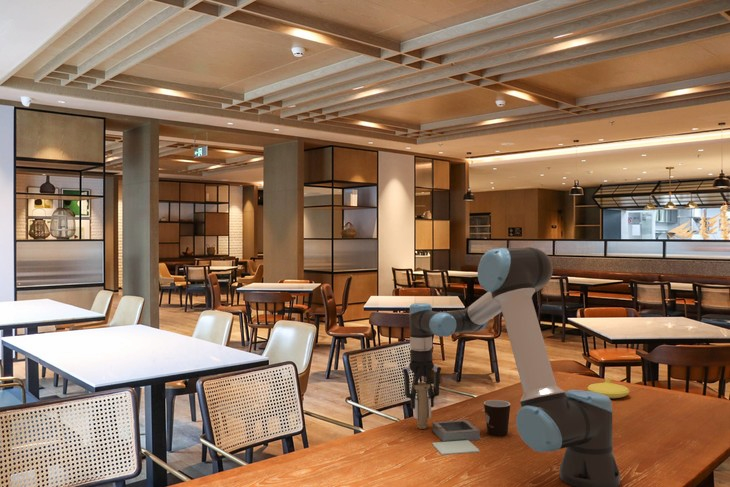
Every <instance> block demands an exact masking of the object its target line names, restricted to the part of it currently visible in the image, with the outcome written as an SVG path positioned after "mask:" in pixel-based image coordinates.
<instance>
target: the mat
mask: <svg viewBox="0 0 730 487" xmlns="http://www.w3.org/2000/svg"><path fill="white" fill-rule="evenodd" d="M431 445H432V446H433V447H434V449H436V451H437V452H438V453H440V455H441V456H444V455H445V456H446V455H460V454H470V453H480V452H481V450H480V449H479V448H478V447H477V446H475V444H473V443H472V442H471V441H469V440H462V441H450V442H443V441H440V442H439V441H438V442H432V443H431Z"/></svg>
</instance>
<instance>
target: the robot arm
mask: <svg viewBox="0 0 730 487" xmlns="http://www.w3.org/2000/svg"><path fill="white" fill-rule="evenodd" d="M553 270H554V268H553V262H552V260H551V259H550V257H549V255H547V253H546V252H545V251H543V250H541V249H540V248H537V247H531V246H530V247H499V248H493V249H489V250H488V251H486V252H485V253H484V254H483V255H482V257H481V258H480V260H479V263H478V266H477V279H478V283H479V285H480V288H482V289H483V290H484V291H486V293H485V294H483V295H482V296H480V297H479V298H478V299H476V300H475V301H474V302H472V303H471V304H470V305H469V306H467V307H466V308H465V309H457V310H456V309H455V310H447V311H433V309H432V304H430V303H429V302H418V303H411V305H409V315H408V316H409V348H410V350H409V351H410V352H409V355H410V358H409V360H410V362H409V365H408V366H407V367H402V369H401V372H402V373H403V379H404V380H403V382H404V396H405V398H407V399H410V408H411V409H412V410H413V418H414V419H416V420H417V419H418V401H417V390H415V389H414V386H413V385H418V383H419V380H420V378H421V377H424V380H425V381H424V382H426V383H427V384H430V388H429V389H428V390H427V404H428V419H431V418H432V408H434V406H435V404H434V401H435V400H434V399H435V398H436V397H439V396H440V373H441V371H442V367H440V366H439V365H435V364H434V362H433V350H432V348H433V336H437V337H440V338H441V337H444V338H445V337H450V336H452V335H454V334H463V333H476V332H479V331H483V330H485V329H486V328H487V325H488V323H489V321H490V320H492V319H494V317H496V316H497V315H499V314H500V313H502V317H503V320H504V324H505V328H506V332H507V336H508V339H509V343H510V347H511V351H512V353H513V357H514V361H515V365H516V369H517V372H518V376H519V379H520V383H521V384H520V385H521V388H522V391H523V394H522V396H521V398H520V399H519V403H520V406H521V408H519V410H518V411H517V413H516V416H517V417H515V418H516V419H515V424H516V428H517V432H518V434H519V436H520V439H521V440H522V441H523V442H524V444H525V445H527V446H529V448H530V449H531V450H533V451H535V452H539V453H547V452H557V451H559V450H561V449H565V450H564V454H563V457H562V461H561V463H560V466H559V478H560V480H561V481H562V482H564V483H565V484H567V485H569V486H572V487H619V486H620V485H621V473H620V471H619V467H618V465H617V461H616V459H615V455H614V453H613V449H614V448H613V442H614V441H613V439H614V438H613V413H614V411H613V405H612V404H613V403H612V400H611V398H609V397H607V396H605V395H603V394H599V393H595V392H590V391H588V390H584V389H583V390H580V389H579V390H578V389H568V390H566V391H565V390H563V389H562V388H560V387H559V386H558V385H557V382H556V379H555V375H554V372H553V368H552V365H551V362H550V358H549V355H548V352H547V346H546V343H545V340H544V336H543V334H542V330H541V327H540V323H539V319H538V316H537V312H536V308H535V305H534V302H533V295H534V294H535V293H537V292H539V291H540V290H541V289H543V288H544V287H545V286H547V284H548V283H549V282H550V281H551V278H552V275H553V273H554V272H553ZM410 371H411V372H412V373H413V374H412V383H411V386H410V375H409V374H410ZM432 371H433V385H432V381H431V374H430V373H431V372H432ZM410 387H411V388H410Z"/></svg>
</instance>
